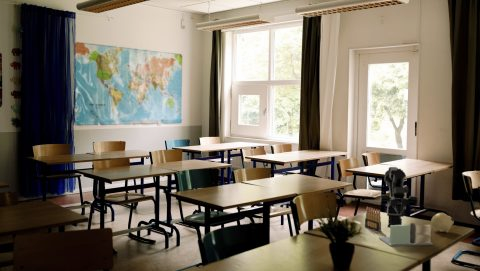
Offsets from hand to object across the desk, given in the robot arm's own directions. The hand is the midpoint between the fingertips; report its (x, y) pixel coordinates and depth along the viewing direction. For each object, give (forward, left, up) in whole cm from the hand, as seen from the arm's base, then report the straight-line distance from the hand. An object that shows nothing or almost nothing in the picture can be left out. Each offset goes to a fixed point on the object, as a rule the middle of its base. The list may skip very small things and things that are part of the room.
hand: (399, 213), depth 247 cm
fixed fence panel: (+12, -6, -12) cm, 18 cm away
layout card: (+5, -6, -12) cm, 15 cm away
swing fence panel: (+4, -14, -12) cm, 18 cm away
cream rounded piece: (+18, +23, -13) cm, 32 cm away
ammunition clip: (-16, +8, -13) cm, 22 cm away
